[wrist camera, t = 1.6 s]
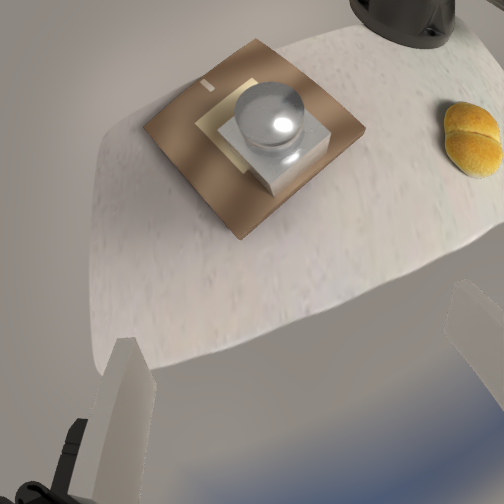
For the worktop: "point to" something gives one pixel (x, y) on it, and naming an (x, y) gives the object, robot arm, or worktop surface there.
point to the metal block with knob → (274, 135)
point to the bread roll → (472, 139)
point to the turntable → (214, 148)
